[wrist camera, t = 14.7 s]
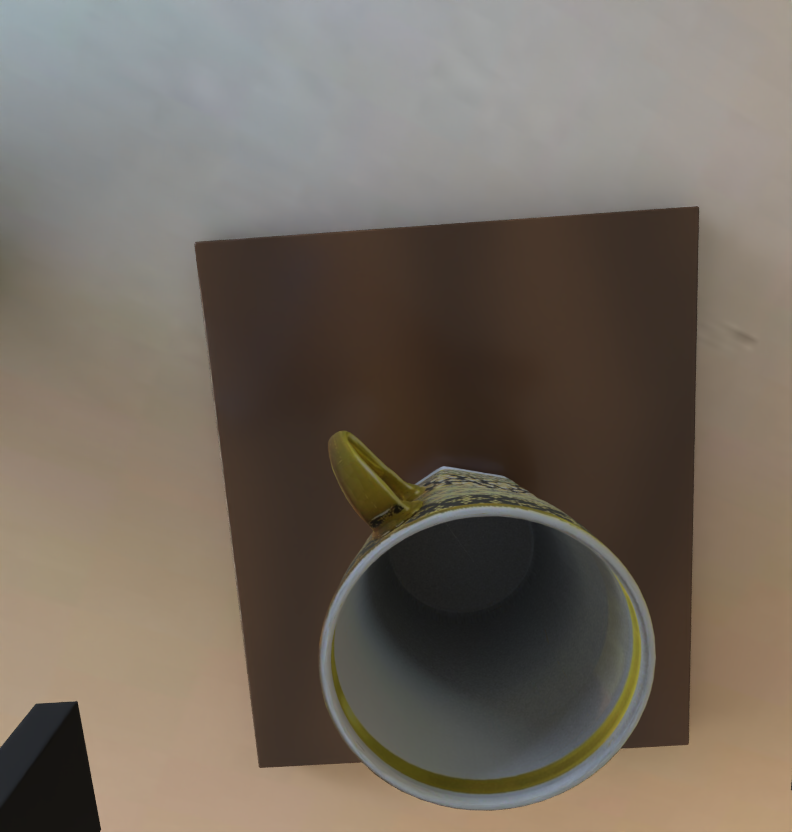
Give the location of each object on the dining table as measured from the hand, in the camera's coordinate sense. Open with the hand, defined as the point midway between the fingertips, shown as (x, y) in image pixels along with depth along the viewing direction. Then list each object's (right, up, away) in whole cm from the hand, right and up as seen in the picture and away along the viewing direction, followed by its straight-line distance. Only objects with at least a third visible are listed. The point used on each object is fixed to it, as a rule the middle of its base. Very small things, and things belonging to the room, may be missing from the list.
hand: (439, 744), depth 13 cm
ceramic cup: (+1, +2, +18) cm, 18 cm away
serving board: (+2, +2, +19) cm, 19 cm away
